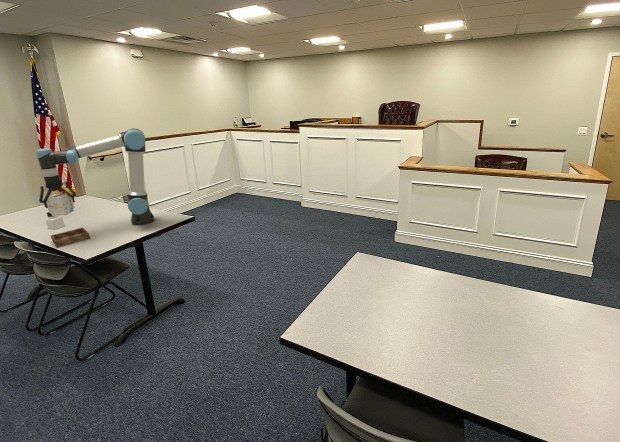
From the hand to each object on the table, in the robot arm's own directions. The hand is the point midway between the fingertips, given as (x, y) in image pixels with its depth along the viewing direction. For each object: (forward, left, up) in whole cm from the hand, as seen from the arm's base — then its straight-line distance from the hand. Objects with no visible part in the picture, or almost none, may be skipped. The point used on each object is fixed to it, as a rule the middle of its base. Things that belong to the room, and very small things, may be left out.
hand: (62, 210), depth 214 cm
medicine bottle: (+2, -37, -20) cm, 42 cm away
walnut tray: (0, 0, -20) cm, 20 cm away
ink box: (0, 0, -2) cm, 2 cm away
